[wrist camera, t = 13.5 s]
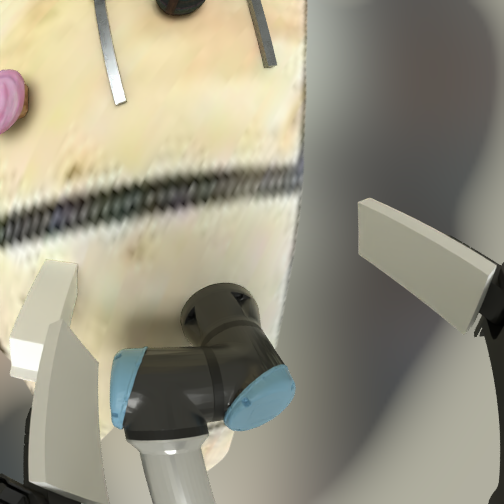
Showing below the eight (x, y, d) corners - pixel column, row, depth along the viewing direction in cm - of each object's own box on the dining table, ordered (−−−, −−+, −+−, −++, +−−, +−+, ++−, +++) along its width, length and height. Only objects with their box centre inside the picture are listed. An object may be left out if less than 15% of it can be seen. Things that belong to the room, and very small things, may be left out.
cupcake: (41, 122, 26) (12, 124, 18) (-3, 140, 23) (-36, 149, 15) (40, 67, 22) (13, 54, 13) (-5, 87, 19) (-37, 83, 11)
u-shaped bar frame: (272, 66, 35) (284, 62, 32) (116, 105, 30) (113, 103, 26) (245, -34, 24) (254, -44, 21) (94, -7, 19) (90, -18, 15)
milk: (77, 293, 39) (60, 400, 21) (47, 289, 36) (16, 392, 18) (77, 262, 37) (49, 368, 19) (45, 257, 34) (1, 358, 16)
